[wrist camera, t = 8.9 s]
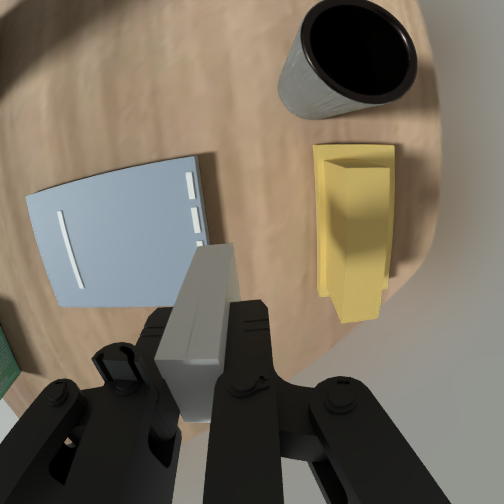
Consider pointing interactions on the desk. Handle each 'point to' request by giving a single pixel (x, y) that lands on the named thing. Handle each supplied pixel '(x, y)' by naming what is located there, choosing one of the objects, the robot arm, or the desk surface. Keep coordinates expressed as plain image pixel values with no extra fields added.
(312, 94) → the gray cylinder
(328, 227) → the yellow stepped block
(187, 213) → the ticket
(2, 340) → the box
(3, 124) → the desk surface
